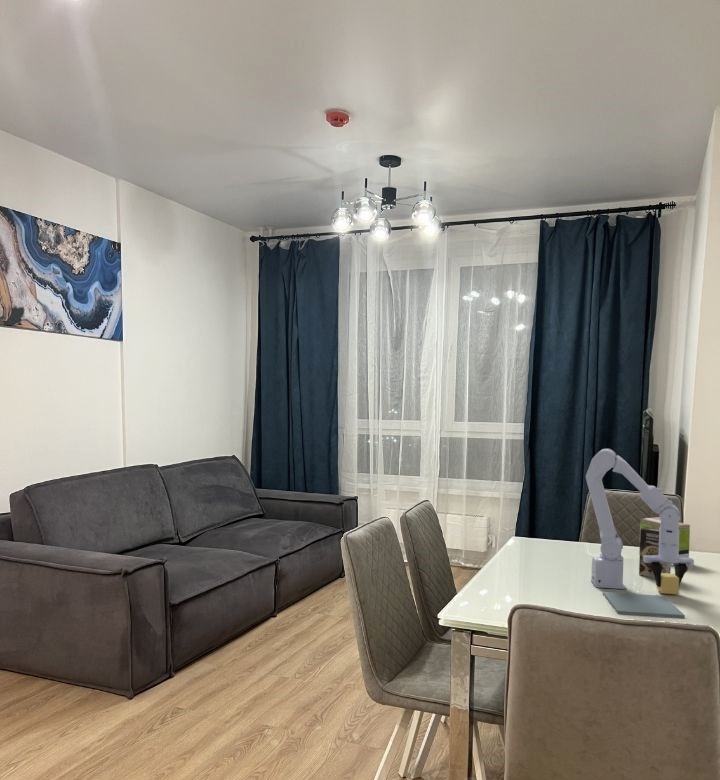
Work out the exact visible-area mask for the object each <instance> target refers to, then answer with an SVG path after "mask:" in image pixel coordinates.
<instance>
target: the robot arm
mask: <svg viewBox="0 0 720 780" xmlns="http://www.w3.org/2000/svg"><path fill="white" fill-rule="evenodd" d="M612 468H613V469H612ZM611 469H612V472H614V473H617V474H621V475H623V477H624V478H626V479H627V480H628V481H629V482H630V484H632V485H633V486H634V488H636V489H637V490H638V491H639V492H640V496H639V497H640V499H641V500H642V501H643V502H644V503H645V504H646V505H647V506H648V507H649V508H650V510H652V511H653V512H654V513H655V514H658V515H659V518H660V520H661V526H660V528H659V555H644V556H643V561H644V562H645V563H650V566H651V568H652V570H653V573H654V576H655V578H654V581H655V585H656V587H657V586H658V587H660V586H661V571H662V567H661V566H660V563H666V564H674V565H673V566H674V574H675V575H676V576H677V577H678V578H679V588H680V586H681V584H682V580H683V577H684V576H685V574H686V572H687V571H688V570H689V569H688V566H692V567H693V566H695V565H694V562H695V559H694V558H692V557H689V558H685V557H679V529H678V528H679V522H680V521H681V513H680V510H679V508H678V507H677V506H676V505H675V504H674V502H673V500H671V499H670V500H669V499H668V498H667V497H666V496H665V495H664V494H663V493H662V489H661V488H660V487H657V486H655V485H649V484H647V482H646V481H645V480H644V479H643V478H642V477H641V476H640V475H639V474H638V472H637V471H636V470H635V469H634V468H633V467H631V465H630V464H629V463H628V462H627V461H626V460H625V459H624V458H623V457H621V456H620V455H618V454H617V453H616V452H615V451H614V450H612V449H611V448H602V449H601V450H599V451H598V452H597V453H596V454H595V455H594V456H593V457H592V459H591V461H590V464H589V466H588V469H587V472H586V474H585V480H586V484H587V488H588V492H589V496H590V500H591V502H592V506H593V510H594V513H595V518H596V522H597V524H598V525H597V526H598V529H599V538H600V549H599V550H600V552H601V553H600V554H599V556H593V557H592V561H591V579H590V581H591V582H592V584H593V585H594V587H596V588H601V589H602V588H603V589H621V590H627V588H628V587H627V586H626V585H625V584H624V557H623V556H622V550H623V548H624V544H623V540H622V539H621V537H620V536H619V535H618V533H617V532H618V531H617V530H616V526H615V523H614V521H613V517H612V514H611V513H612V512H611V510H610V505H609V502H608V498H607V494H606V491H605V487H604V484H603V478H604V476H605V475H606V474H607V472H608V471H610V470H611Z"/></svg>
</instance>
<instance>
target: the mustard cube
mask: <svg viewBox="0 0 720 780" xmlns="http://www.w3.org/2000/svg"><path fill="white" fill-rule="evenodd" d="M656 589H657V590H658V592H660V593H661V594H670V595H679V594H680V587H679V578H678V577H677V576H676V575H675V573H671V572H670V573H661V586H660V587H658V586H657V585H656Z"/></svg>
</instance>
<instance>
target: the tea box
mask: <svg viewBox="0 0 720 780" xmlns="http://www.w3.org/2000/svg"><path fill="white" fill-rule="evenodd" d="M660 526H661V520H660V517H658V516H657V517H656V516H655V517H645V518H640V519H639V533H640V532H641V528H643V527H651V528H658V529H659V528H660ZM690 528H691V524H688V523H684V522H680V521H679V528H678V529H679V557H685V558H690V535H691V534H690V532H691V529H690ZM638 548H639V553H638V554H639V556H640V542H639V547H638Z"/></svg>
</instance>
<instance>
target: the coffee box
mask: <svg viewBox="0 0 720 780" xmlns="http://www.w3.org/2000/svg"><path fill="white" fill-rule="evenodd" d="M639 543H640V555H639V561H638V562H639V564H638V565H639V566H638V576H642V575H643V577H647V576H648V578H651V579H652V578H653V579H655V576H654V573H653V570H652V568H651V566H650V563H645V562H644V561H643V556H644V555H659V529H658V528H651V527H643V528H641V532H640V531H639ZM660 566H661V567H662V571H661V573H670V574H671V573H672V571H671V568H672V567H671V566H672V565H671V564H666V563H660Z"/></svg>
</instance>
